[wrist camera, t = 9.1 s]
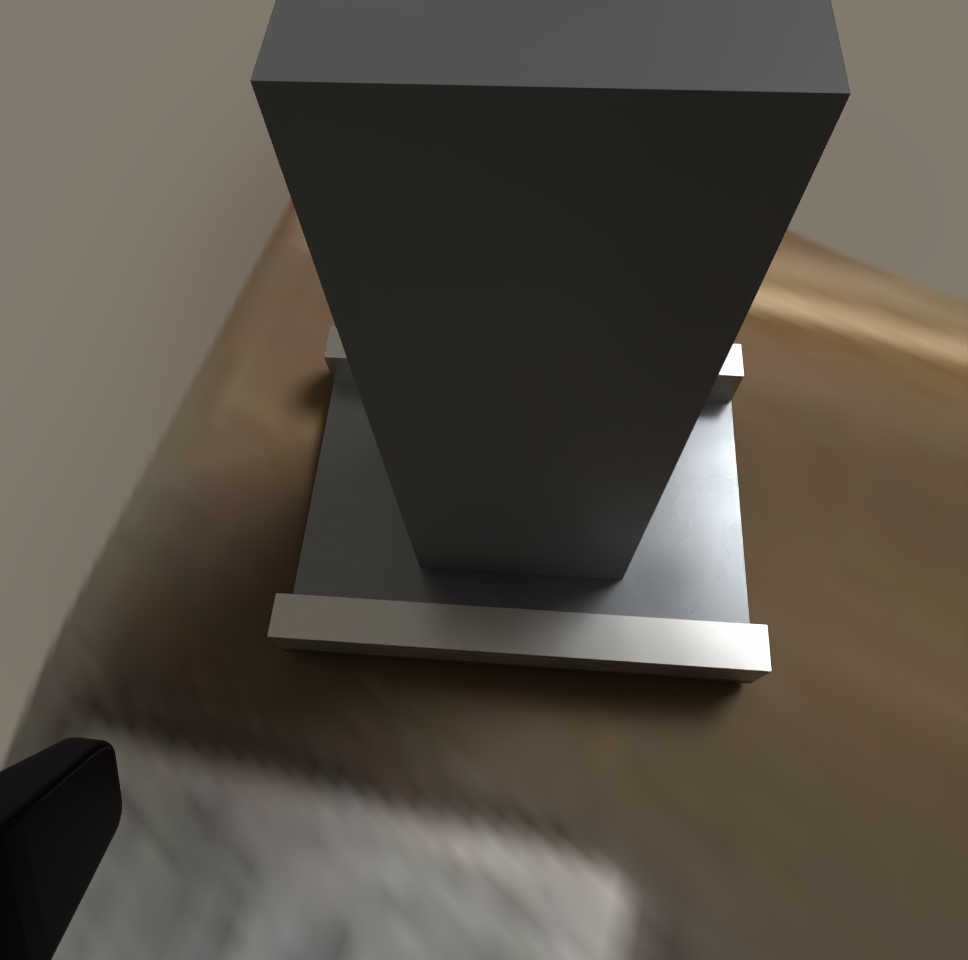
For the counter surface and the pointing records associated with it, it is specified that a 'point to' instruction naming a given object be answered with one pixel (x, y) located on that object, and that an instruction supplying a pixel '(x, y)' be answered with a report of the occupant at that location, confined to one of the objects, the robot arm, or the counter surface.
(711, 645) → the rail seat
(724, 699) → the counter surface
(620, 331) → the block
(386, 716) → the counter surface
